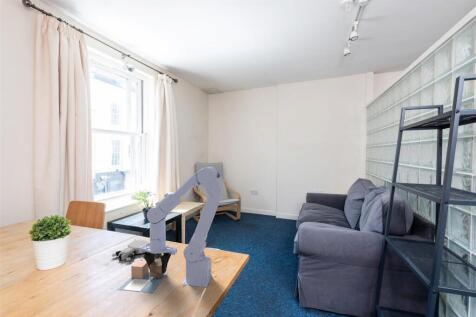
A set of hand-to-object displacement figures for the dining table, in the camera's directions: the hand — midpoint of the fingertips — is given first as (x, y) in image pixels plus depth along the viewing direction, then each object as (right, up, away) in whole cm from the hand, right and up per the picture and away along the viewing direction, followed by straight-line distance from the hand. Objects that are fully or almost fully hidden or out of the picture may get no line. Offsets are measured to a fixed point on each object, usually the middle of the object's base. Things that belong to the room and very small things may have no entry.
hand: (158, 271), depth 83 cm
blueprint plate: (-4, -3, -3) cm, 6 cm away
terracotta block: (-7, -2, +1) cm, 8 cm away
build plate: (-7, -3, +16) cm, 18 cm away
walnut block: (0, -1, 0) cm, 1 cm away
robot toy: (-19, -2, +18) cm, 26 cm away
